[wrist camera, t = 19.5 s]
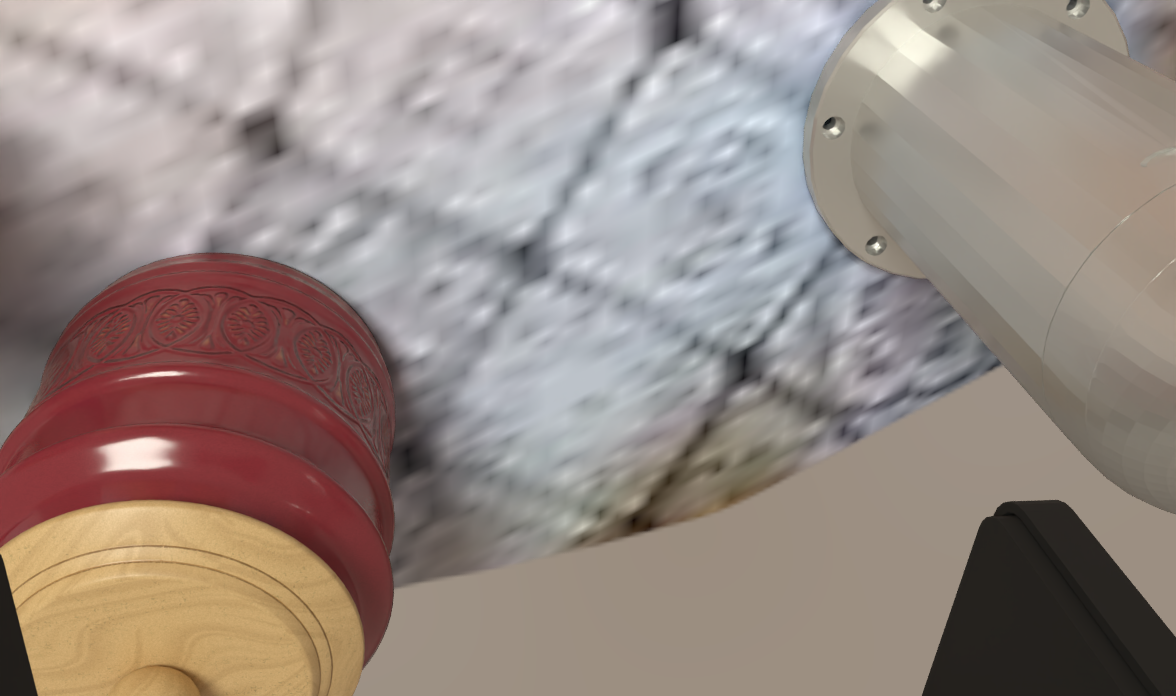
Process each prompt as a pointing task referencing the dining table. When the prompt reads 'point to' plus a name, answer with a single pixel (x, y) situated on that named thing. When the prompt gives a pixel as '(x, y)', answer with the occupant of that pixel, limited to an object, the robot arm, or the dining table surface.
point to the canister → (204, 489)
